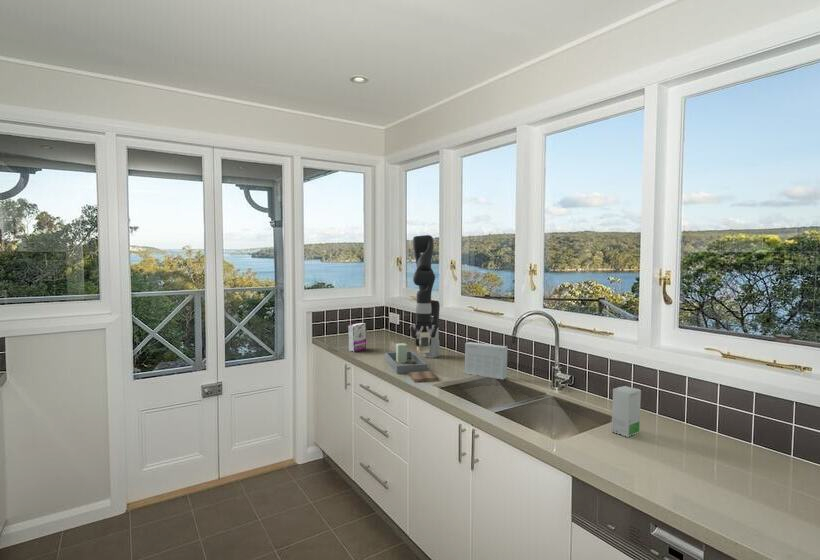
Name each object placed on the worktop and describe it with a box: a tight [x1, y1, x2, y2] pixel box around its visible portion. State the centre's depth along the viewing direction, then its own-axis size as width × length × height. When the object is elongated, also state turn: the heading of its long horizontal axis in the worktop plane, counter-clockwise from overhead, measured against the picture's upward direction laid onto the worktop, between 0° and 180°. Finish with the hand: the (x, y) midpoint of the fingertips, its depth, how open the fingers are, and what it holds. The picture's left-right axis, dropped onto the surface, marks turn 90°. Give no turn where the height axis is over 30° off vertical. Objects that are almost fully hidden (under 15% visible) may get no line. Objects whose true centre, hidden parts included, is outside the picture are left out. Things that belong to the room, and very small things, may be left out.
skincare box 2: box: [610, 385, 642, 438], centre depth 161 cm, size 8×7×16 cm
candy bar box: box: [347, 322, 367, 353], centre depth 284 cm, size 11×5×16 cm, turn 143°
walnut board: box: [407, 370, 439, 383], centre depth 226 cm, size 12×12×2 cm
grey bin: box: [384, 350, 428, 374], centre depth 249 cm, size 16×30×4 cm, turn 15°
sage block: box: [395, 342, 408, 364], centre depth 257 cm, size 5×5×10 cm
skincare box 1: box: [464, 341, 508, 381], centre depth 231 cm, size 21×5×16 cm, turn 59°
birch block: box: [416, 331, 430, 354], centre depth 225 cm, size 5×5×10 cm
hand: (423, 346), depth 225 cm, fingers closed on birch block, 5 cm apart
